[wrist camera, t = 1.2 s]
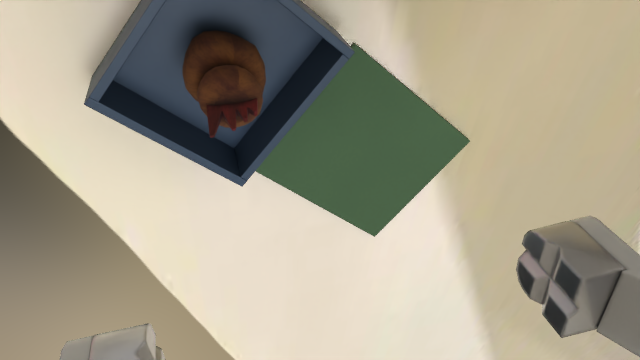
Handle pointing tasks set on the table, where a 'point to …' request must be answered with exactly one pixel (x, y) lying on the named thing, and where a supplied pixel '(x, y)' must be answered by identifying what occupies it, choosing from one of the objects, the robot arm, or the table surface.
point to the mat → (363, 146)
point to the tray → (184, 111)
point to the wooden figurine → (225, 78)
